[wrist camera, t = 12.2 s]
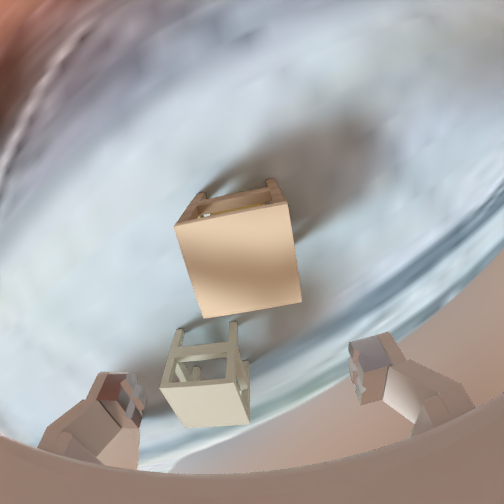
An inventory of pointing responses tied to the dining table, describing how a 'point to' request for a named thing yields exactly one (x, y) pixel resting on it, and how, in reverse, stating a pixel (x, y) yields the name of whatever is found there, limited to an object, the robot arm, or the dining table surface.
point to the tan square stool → (240, 252)
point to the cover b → (207, 384)
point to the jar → (122, 450)
